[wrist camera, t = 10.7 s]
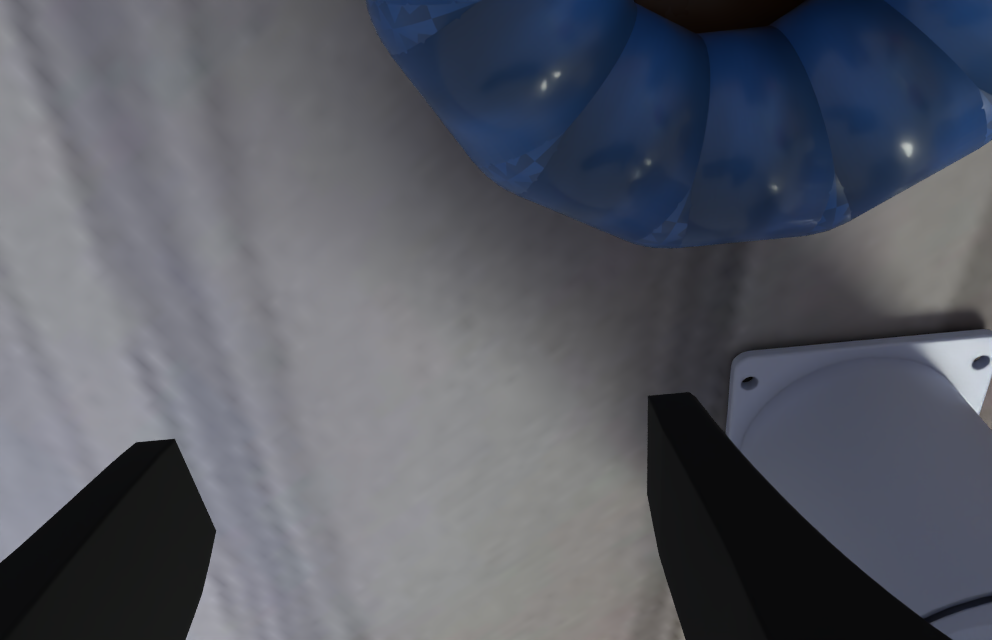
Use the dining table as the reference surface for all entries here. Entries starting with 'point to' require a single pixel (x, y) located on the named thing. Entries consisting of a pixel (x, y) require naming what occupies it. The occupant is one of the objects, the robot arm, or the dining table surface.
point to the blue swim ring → (701, 107)
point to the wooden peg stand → (720, 13)
